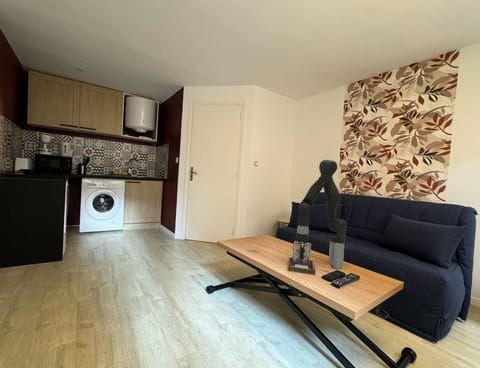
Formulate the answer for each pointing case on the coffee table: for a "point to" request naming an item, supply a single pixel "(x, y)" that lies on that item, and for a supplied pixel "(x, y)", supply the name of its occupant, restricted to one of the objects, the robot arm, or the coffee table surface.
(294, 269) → the tray
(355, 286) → the coffee table surface
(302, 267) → the sage offcut
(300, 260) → the candy bar box
